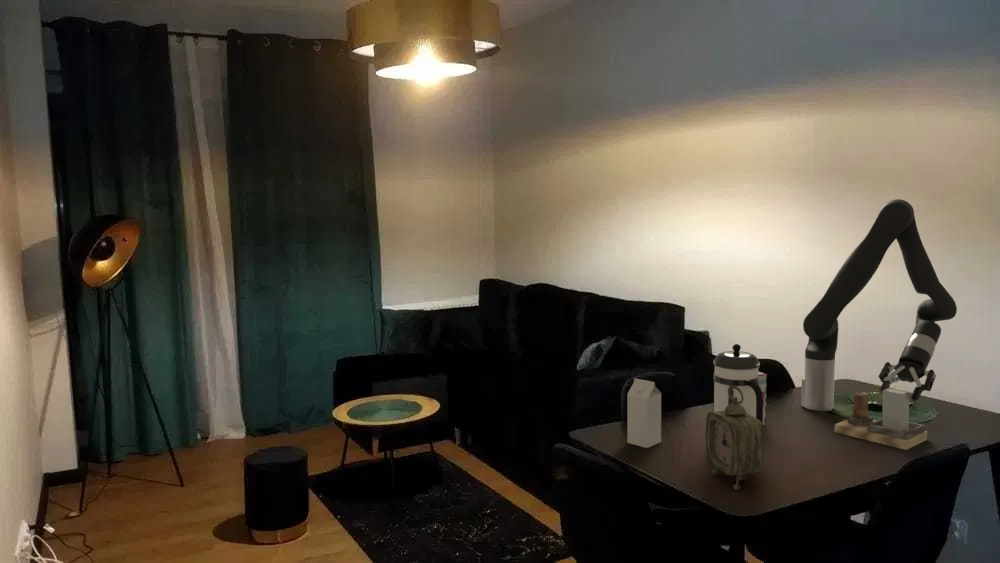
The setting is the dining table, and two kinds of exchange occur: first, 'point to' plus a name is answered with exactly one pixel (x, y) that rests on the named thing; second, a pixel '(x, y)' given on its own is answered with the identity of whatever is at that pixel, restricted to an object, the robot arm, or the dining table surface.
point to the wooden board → (878, 427)
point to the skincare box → (895, 410)
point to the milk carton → (644, 414)
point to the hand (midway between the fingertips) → (897, 396)
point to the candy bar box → (763, 392)
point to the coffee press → (738, 381)
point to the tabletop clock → (735, 441)
